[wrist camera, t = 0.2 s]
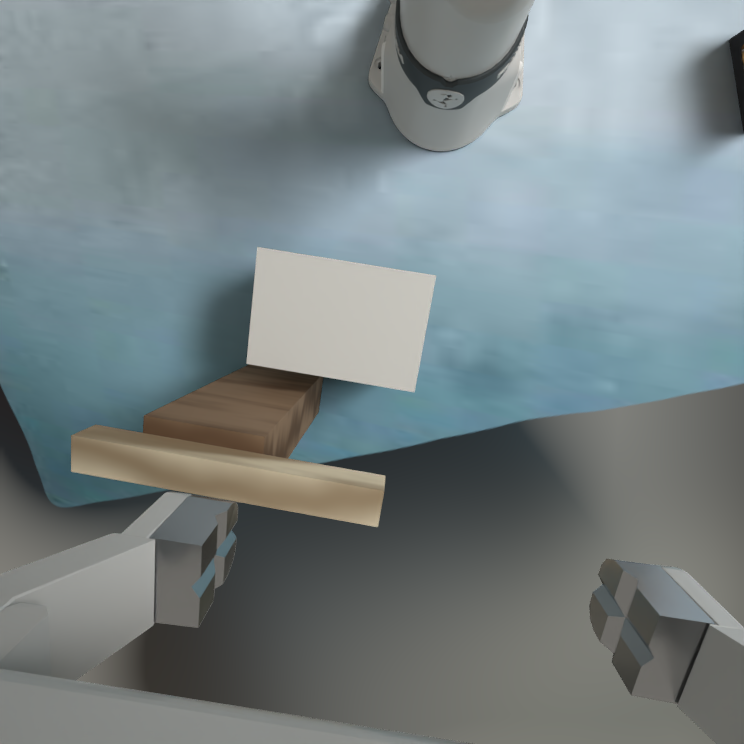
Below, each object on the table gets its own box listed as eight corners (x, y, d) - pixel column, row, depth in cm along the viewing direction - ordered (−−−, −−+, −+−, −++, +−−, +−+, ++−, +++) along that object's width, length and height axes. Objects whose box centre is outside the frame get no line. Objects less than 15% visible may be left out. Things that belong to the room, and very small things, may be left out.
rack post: (256, 361, 58) (143, 415, 32) (323, 372, 57) (264, 436, 32) (252, 400, 59) (140, 483, 33) (318, 412, 59) (257, 504, 33)
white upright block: (295, 259, 54) (257, 246, 40) (425, 280, 54) (436, 275, 39) (285, 345, 57) (246, 363, 42) (410, 366, 56) (414, 392, 42)
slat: (95, 424, 33) (71, 435, 30) (385, 475, 32) (384, 490, 29) (95, 458, 33) (71, 471, 31) (379, 509, 32) (377, 527, 30)
